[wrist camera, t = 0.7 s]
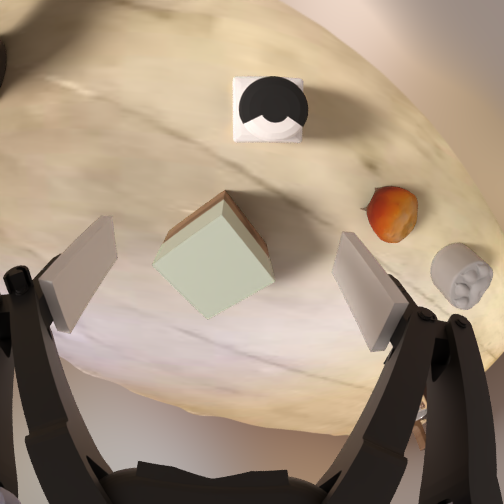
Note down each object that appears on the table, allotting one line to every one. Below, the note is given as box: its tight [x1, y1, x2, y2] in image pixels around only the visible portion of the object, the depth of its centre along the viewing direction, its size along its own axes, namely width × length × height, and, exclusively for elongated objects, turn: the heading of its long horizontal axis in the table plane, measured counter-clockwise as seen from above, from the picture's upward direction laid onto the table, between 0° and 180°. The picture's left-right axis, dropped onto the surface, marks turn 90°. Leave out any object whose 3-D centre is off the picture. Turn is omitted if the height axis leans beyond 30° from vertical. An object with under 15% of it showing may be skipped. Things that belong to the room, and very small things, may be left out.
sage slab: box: [152, 200, 275, 320], centre depth 33 cm, size 10×10×5 cm
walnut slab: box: [163, 190, 269, 257], centre depth 38 cm, size 10×10×5 cm
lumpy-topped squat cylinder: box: [430, 243, 493, 310], centre depth 41 cm, size 10×13×9 cm
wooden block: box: [412, 420, 426, 451], centre depth 75 cm, size 7×3×15 cm, turn 64°
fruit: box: [362, 186, 418, 243], centre depth 36 cm, size 8×8×8 cm
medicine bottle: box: [233, 76, 308, 143], centre depth 26 cm, size 7×7×12 cm
